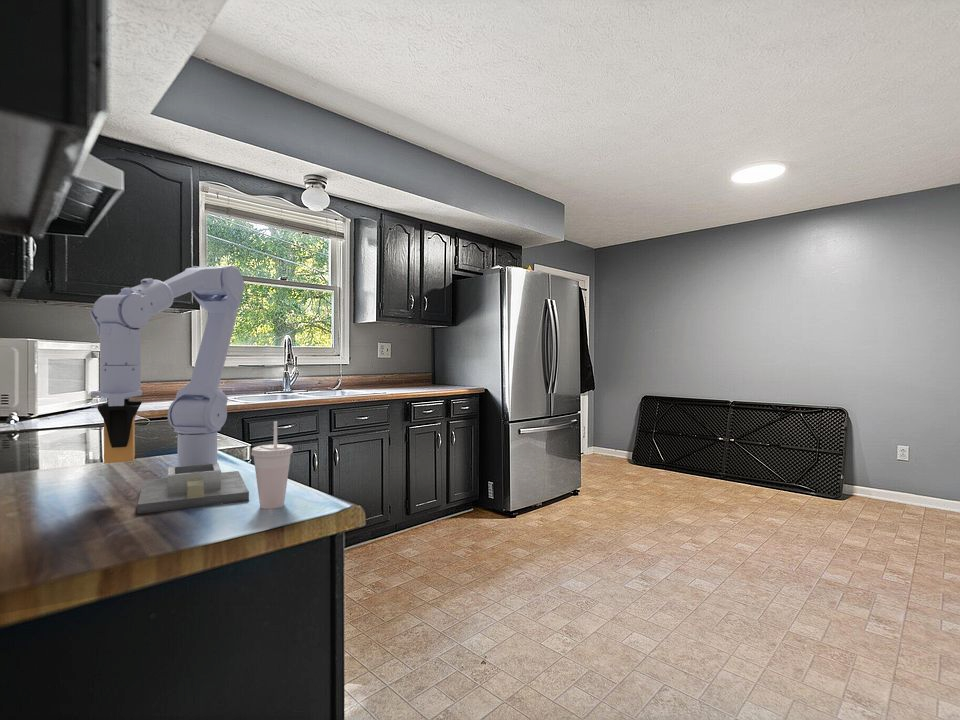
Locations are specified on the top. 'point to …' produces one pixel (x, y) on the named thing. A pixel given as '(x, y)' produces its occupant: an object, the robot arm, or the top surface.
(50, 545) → the top surface
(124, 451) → the wedge pin
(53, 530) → the top surface
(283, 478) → the smoothie
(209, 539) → the top surface
